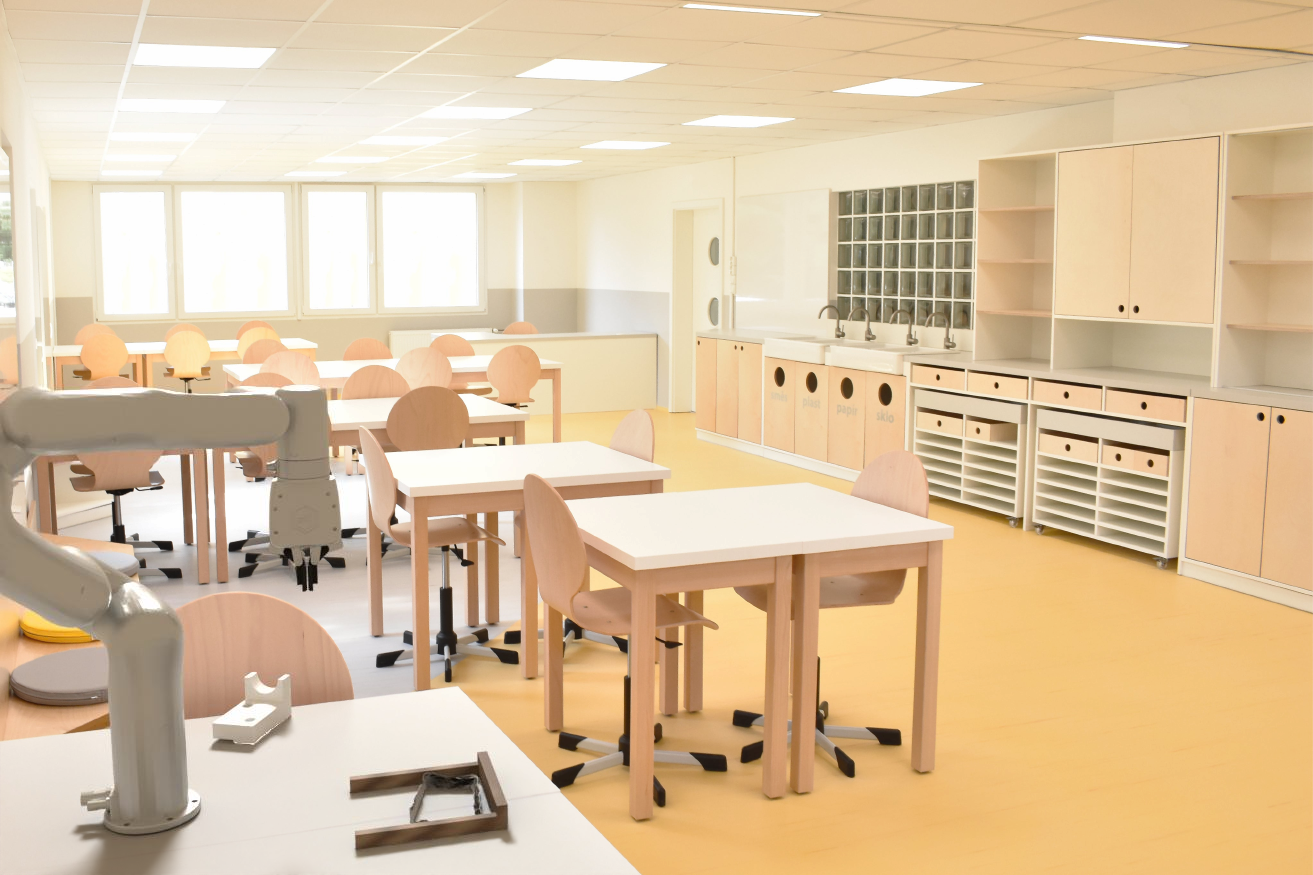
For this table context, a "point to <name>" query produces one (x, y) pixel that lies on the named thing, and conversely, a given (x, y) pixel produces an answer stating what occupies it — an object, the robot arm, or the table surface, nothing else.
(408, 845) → the table surface
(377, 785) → the stop bay
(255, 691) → the bracket
